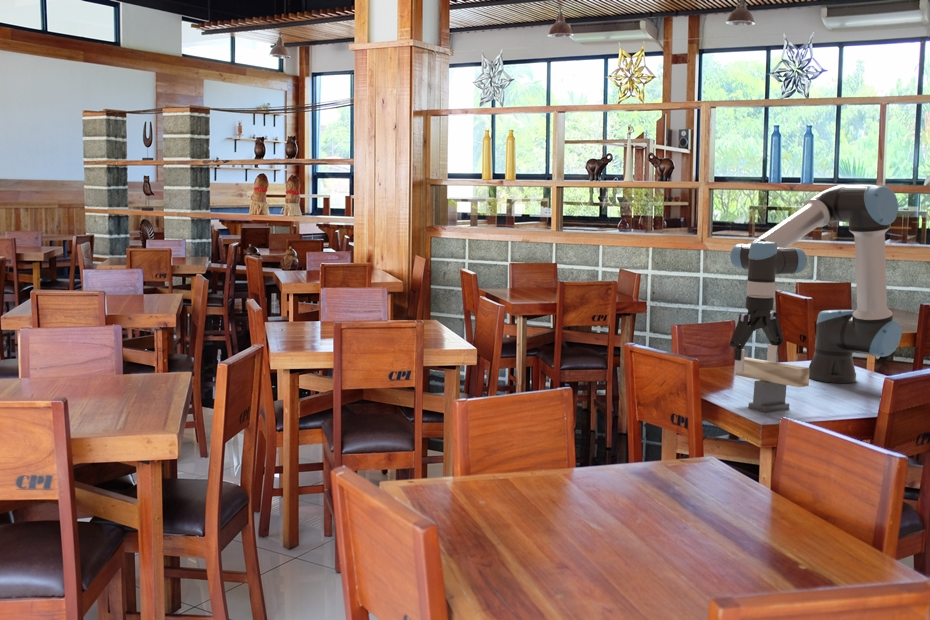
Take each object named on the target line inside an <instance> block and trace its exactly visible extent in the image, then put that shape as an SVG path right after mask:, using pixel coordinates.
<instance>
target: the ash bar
mask: <svg viewBox="0 0 930 620" xmlns="http://www.w3.org/2000/svg"><path fill="white" fill-rule="evenodd" d="M734 376H738V377H743V378H748V379H754V380H757V381H759V380H763V381H768V382H774V383H779V384H784V385H787V386H790V387H796V388H804V387H809V384H810V378H809V367H806V366H800V365H795V364H789V363H781V362H777V361H776V362H771V361H767V360H765V359H759V358H752V357H746V356H745V358H744V372H738V371H734Z"/></svg>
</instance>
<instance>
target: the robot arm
mask: <svg viewBox="0 0 930 620" xmlns="http://www.w3.org/2000/svg"><path fill="white" fill-rule="evenodd" d="M898 212H899V201H898V198H897V196H896V193H895V192H894V191H893V190H892V189H891V188H890V187H888V186H885V185H878V184H840V185H836V186H832V187H830V188H827V189H825V190H823V191H821V192H819V193H817V194H815V195H814V196H812V197H811V198H809V199H807V200H805V202H804V203H803V206H802V208H800V209H799V210H796V211H795V212H794V213H792V214H791V215H790V216H788V217H787V218H785V219H784V220H782V221H781V222H779V223H778V224H776V225H775V226H773V227H772V228H770V229H769V230H767V231H766V232H764V233H763V234H762V235H760V236H759V237H757V238H755V239H754V240H752V241H751V242H749V243H745V242H744V243H737V244H735V245H734V246H733V247H732V249H731V251H730V256H729V257H730V261H731V264H732V266H733V267H735V268H736V269H737V268H738V269H742V270H747V283H746V285H747V286H746V295H747V296H746V297H745V309H746V310H747V314H746V313H739V315H738V321H737V324H736V326H735V329H734V331H733V335H732V336H731V339H730V342H729V345H728V346H729V347H730V348H732V349H734V353H733V354H734V355H733V357H734V358H733V359H734V369H733V371H734V372H735V371H738V372H744V358H745V357H746V356H745V355H746V354H745V353H746V349H744V347H745V346H746V344H747V342H748V341H749V339H750V337H751V336H752V334H753V333H754V332H755V331H757V330H760V329H762V331H763V332H764V334H765V337H766V338H767V340H768V342H769V344H767V350H766V351H767V354H766V361H771V362H777V355H778V349H779V348H778V347H779V346H782V343H784V340H785V339H784V336H783V332H782V328H781V325H780V321H779V312H778V311H773V310H774V305H775V304H774V302H775V301H774V300H775V298H774V297H773V296H775V290H776V289H775V288H776V275H794V274H798V273H801V272H802V271H803V270H805V268H806V266H807V262H808V261H807V260H808V258H807V254H806V252H805V251H804V250H803V249H801V248H799V247H791V245H793V244H795V243H796V242H797V241H799V240H800V239H802V238H803V237H805V236H806V235H808V234H809V233H811V232H812V231H814V230H816V228H823V227H825V226H826V225H828V224H831V223H837V222H842V223H848V231H849V232H850V233H851V234H853V236H854V257H855V258H854V259H855V283H856V284H855V285H856V306H857V307H856V309H855V310H854V309H828V310H822V311H819V312H818V315H817V320H816V323H815V324H816V327H815V331H816V332H815V342H814V343H815V344H814V353H813V356H812V358H811V361H810V364H809V365H808V368H809V379H811V380H814V381H818V382H824V383H833V384H834V383H835V384H852V383H855V382H857V381H856V380H857V372H856V369H855V364H854V359H853V352H855V353H859V354H863V355H869V356H871V357H881V358H882V357H888V356H890V355H891V354H892V353H894V352H895V351H896V350H897V348H898V346H899V345H900V342H901V340H902V336H903V335H902V333H903V332H902V331H903V330H902V326H901V325H900V323H899V322H898V321H895V320H894V317H893V316H894V315H893V311H891V310H890V309H889V308H888V296H887V267H886V264H887V262H886V258H887V257H886V233H887V231H889V230H890V228H891V224H892V223H894V222H895V220H896V219H897V217H898V216H897V215H898Z"/></svg>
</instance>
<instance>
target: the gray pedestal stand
mask: <svg viewBox="0 0 930 620" xmlns="http://www.w3.org/2000/svg"><path fill="white" fill-rule="evenodd" d="M753 385H754V386H753V396H752V397H753V398H752V401H751V402H750V401H749V402H748V404H747V405H748V409H751V410H755V411H757V412H759V411H760V412H763V413H765V414H766V413H770V412H776V411H782V410H788V409H790V403H789V402H786V397H787V386H788V385H784V384H779V383H774V382H768V381H763V380H755V381H754V384H753Z"/></svg>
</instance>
